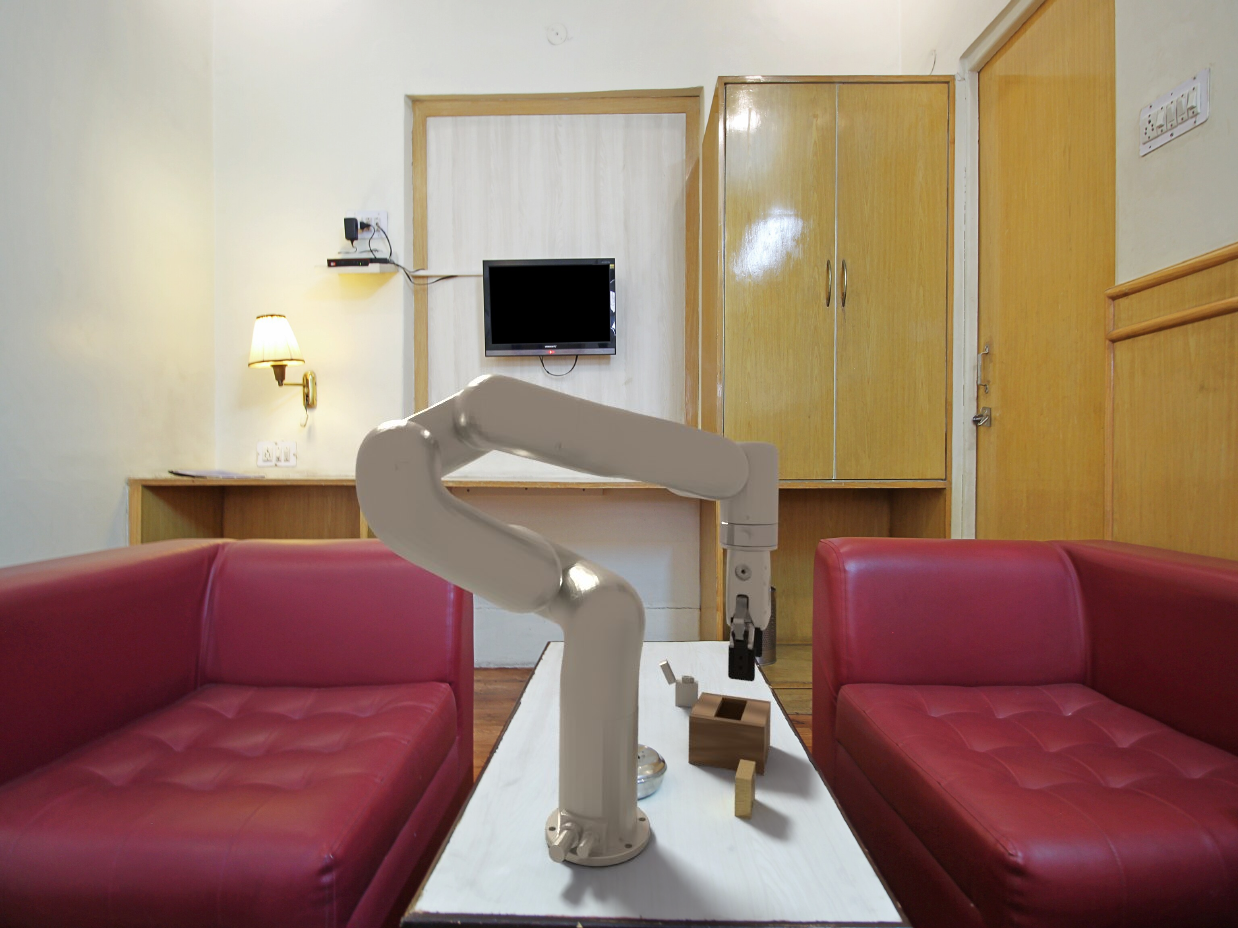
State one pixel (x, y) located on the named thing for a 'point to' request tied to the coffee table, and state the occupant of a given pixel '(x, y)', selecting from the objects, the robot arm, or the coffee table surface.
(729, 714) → the box
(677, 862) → the coffee table surface
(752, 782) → the gold metal block
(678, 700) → the lighter
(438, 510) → the robot arm
